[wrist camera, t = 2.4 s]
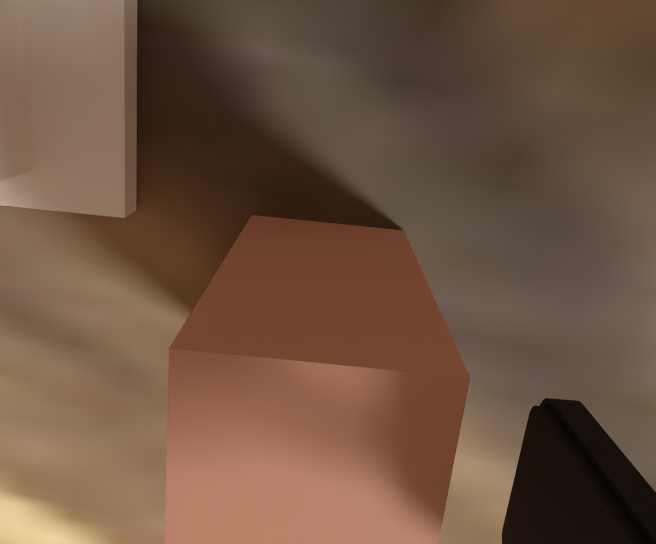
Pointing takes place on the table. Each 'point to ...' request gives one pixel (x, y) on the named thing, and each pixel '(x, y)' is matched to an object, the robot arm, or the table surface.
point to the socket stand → (69, 105)
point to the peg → (313, 394)
